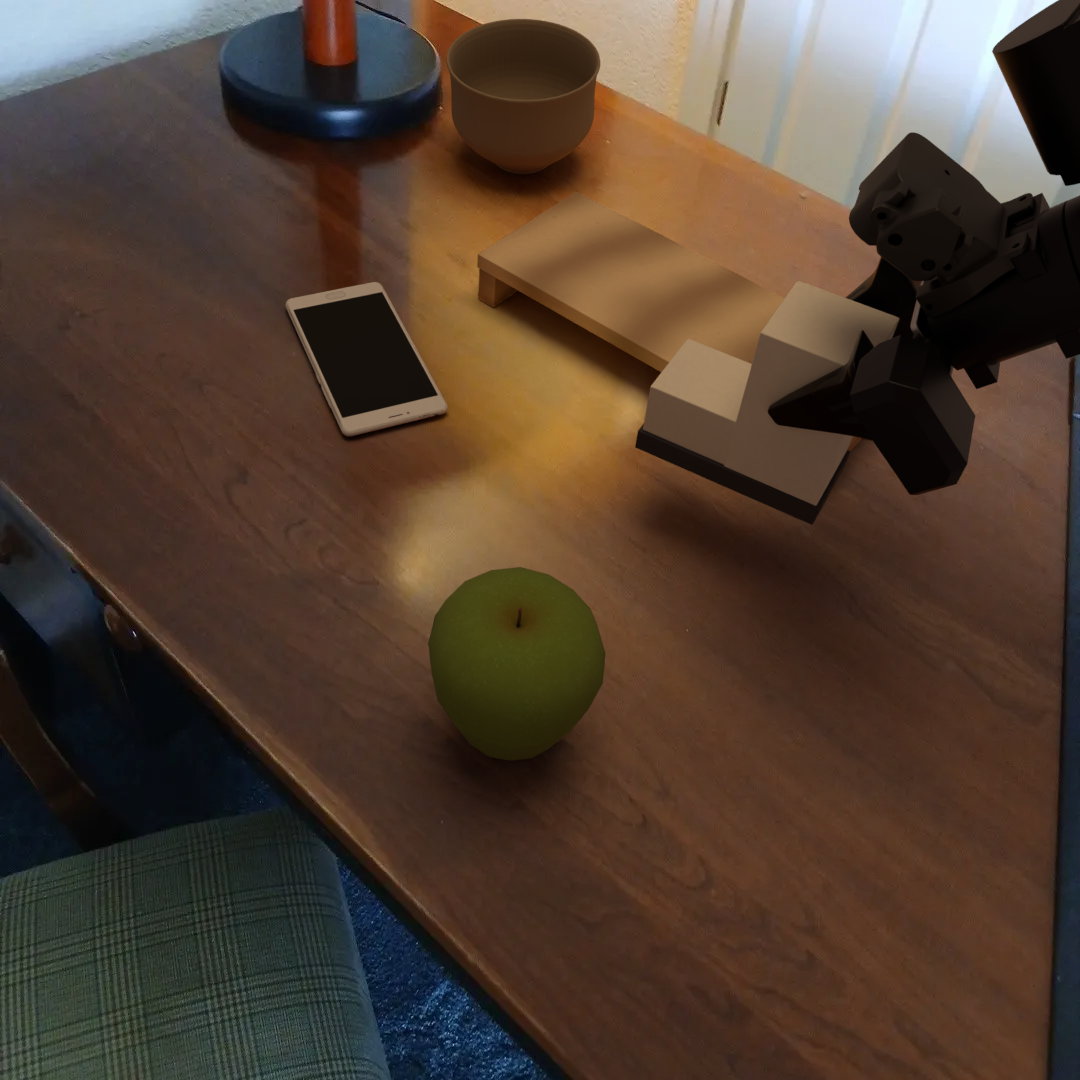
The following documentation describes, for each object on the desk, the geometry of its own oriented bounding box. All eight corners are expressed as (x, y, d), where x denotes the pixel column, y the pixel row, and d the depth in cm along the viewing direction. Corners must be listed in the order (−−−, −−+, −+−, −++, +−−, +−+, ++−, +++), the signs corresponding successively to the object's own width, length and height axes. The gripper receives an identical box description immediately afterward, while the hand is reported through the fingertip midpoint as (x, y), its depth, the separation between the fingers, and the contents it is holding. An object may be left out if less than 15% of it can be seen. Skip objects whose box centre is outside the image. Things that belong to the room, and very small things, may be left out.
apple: (617, 756, 56) (651, 635, 47) (482, 833, 53) (492, 718, 44) (530, 640, 61) (547, 509, 52) (400, 703, 57) (394, 575, 48)
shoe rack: (895, 406, 76) (914, 364, 73) (814, 496, 70) (832, 454, 67) (571, 233, 87) (576, 190, 84) (475, 297, 80) (477, 253, 77)
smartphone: (380, 279, 80) (450, 408, 71) (380, 286, 80) (450, 415, 72) (282, 298, 77) (343, 434, 69) (283, 305, 78) (344, 441, 69)
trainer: (844, 467, 62) (904, 317, 53) (812, 525, 59) (871, 376, 50) (673, 395, 65) (704, 244, 57) (634, 447, 62) (661, 295, 53)
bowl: (415, 160, 92) (414, 47, 84) (511, 111, 99) (518, 2, 91) (523, 221, 87) (531, 107, 80) (616, 166, 94) (632, 55, 86)
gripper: (1026, 17, 48) (745, 175, 59) (987, 225, 37) (646, 376, 47) (1120, 210, 53) (843, 325, 63) (1112, 449, 41) (775, 541, 52)
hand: (784, 381), depth 56 cm, fingers closed on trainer, 5 cm apart
